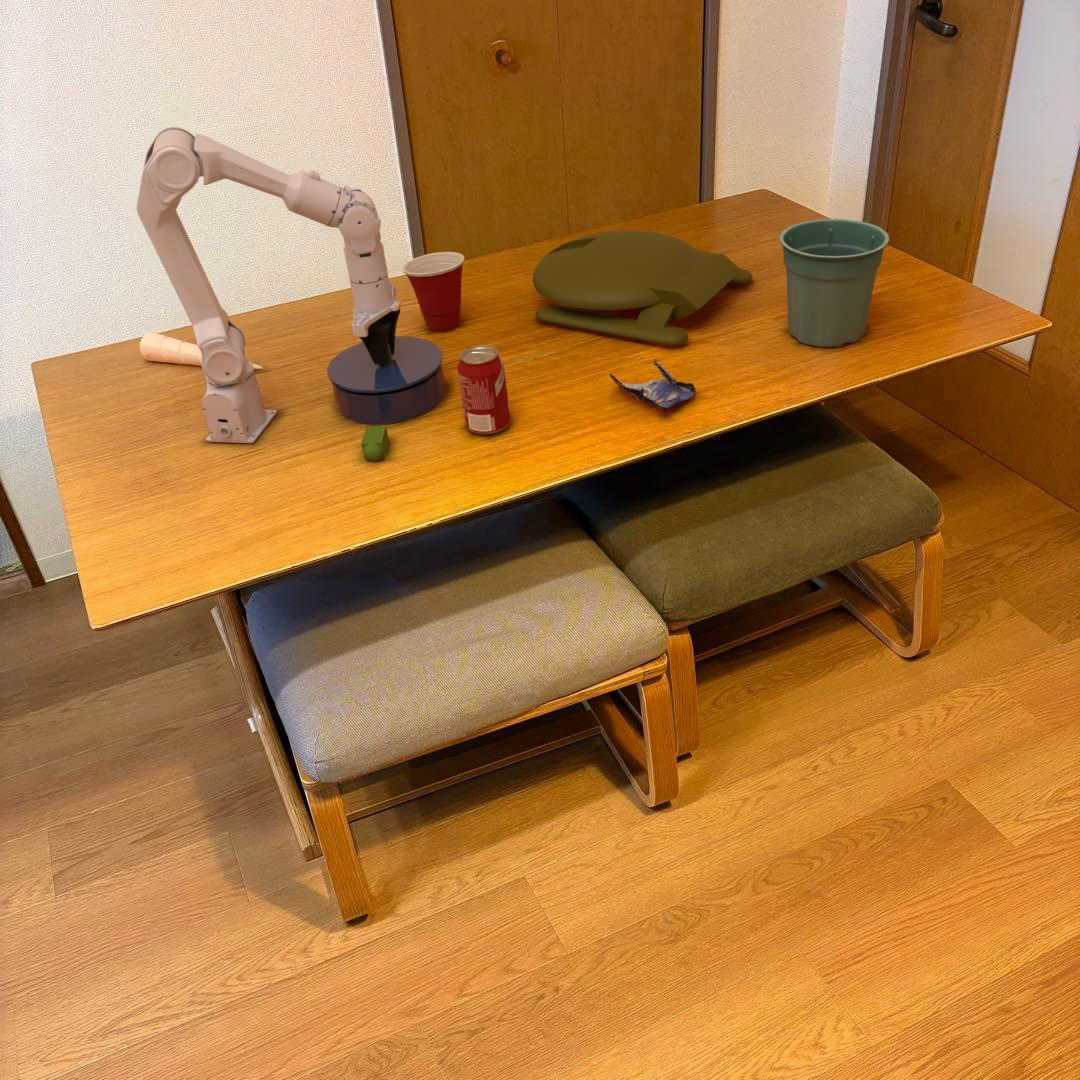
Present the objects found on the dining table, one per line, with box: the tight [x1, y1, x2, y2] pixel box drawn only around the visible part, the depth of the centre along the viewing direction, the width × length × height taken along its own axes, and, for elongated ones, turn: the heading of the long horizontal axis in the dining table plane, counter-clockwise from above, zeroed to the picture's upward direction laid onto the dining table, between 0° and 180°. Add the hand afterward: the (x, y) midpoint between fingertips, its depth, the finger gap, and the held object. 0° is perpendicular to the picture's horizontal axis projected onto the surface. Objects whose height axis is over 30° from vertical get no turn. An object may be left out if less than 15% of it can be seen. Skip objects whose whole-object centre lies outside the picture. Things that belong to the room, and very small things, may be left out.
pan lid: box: [326, 335, 444, 393], centre depth 169 cm, size 18×18×4 cm
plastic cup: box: [402, 251, 465, 333], centre depth 190 cm, size 11×11×12 cm
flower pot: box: [779, 218, 890, 348], centre depth 173 cm, size 16×16×16 cm
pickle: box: [360, 425, 390, 462], centre depth 159 cm, size 7×3×3 cm, turn 179°
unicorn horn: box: [139, 331, 264, 370], centre depth 187 cm, size 5×24×5 cm, turn 65°
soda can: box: [456, 344, 512, 436], centre depth 159 cm, size 7×7×12 cm
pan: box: [331, 362, 446, 426], centre depth 172 cm, size 17×17×5 cm
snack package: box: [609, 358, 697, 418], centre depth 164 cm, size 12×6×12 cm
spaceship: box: [532, 229, 753, 348], centre depth 192 cm, size 35×31×10 cm
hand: (384, 359), depth 169 cm, fingers closed on pan lid, 2 cm apart
